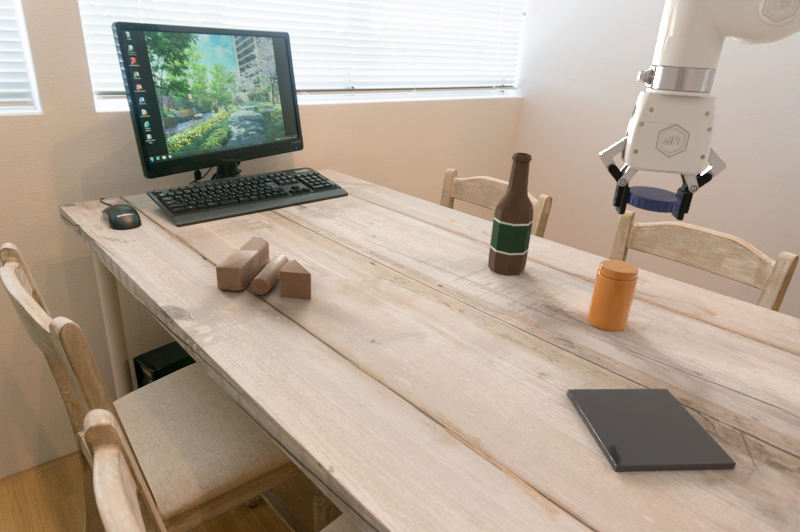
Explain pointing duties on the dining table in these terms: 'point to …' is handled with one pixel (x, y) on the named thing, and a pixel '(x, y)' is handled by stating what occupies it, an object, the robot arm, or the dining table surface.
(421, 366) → the dining table surface
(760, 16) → the robot arm
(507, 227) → the beer bottle
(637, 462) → the slate coaster
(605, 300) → the honey jar
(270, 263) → the wooden block set
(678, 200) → the jar lid
